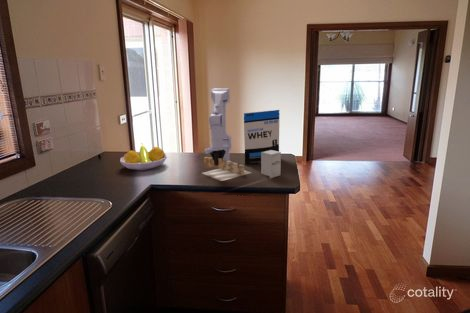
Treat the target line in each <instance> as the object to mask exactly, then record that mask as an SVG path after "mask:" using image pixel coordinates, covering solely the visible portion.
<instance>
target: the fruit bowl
mask: <svg viewBox="0 0 470 313" xmlns="http://www.w3.org/2000/svg"><path fill="white" fill-rule="evenodd" d="M140 144H141V146H140V149H139V152H137V151H136V150H129V151H127V153H125V154H123V156H122V157H120V161H119V162H120V164H121V165H122V166H124V167H126V168H127V169H129V170H136V171H141V172H142V171H147V170H151V169H156V168H157V167H160V166H161V165H163V164H164V162H165V161H166V160H167V158H168V156H167V154H166V153H165V152H164V150H163V149H162V148H160V147H159V146H154V147H152V149H150V151H148V150H147V148H146V147H145V145H144V143H143V142H142V143H140Z"/></svg>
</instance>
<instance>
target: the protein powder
mask: <svg viewBox="0 0 470 313" xmlns="http://www.w3.org/2000/svg"><path fill="white" fill-rule="evenodd" d="M243 115H244V116H243V133H244V134H243V136H244V166H246V164H248V165H249V166H256V165H257V164H259V165H261V152H265V151H269V150H273V151H278V152H280V109H276V110H275V109H274V110H273V109H272V110H264V111H263V110H262V111H254V112H244V113H243ZM248 165H247V166H248Z"/></svg>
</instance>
